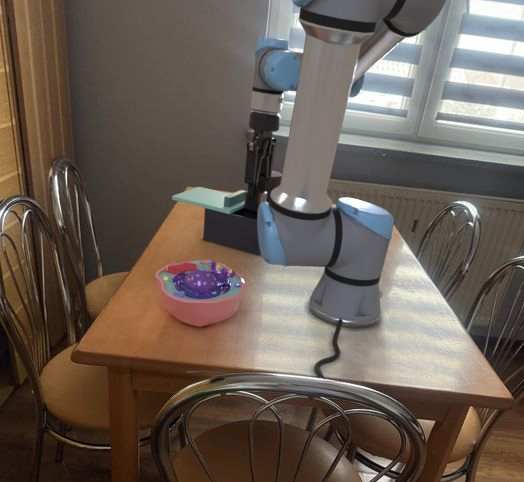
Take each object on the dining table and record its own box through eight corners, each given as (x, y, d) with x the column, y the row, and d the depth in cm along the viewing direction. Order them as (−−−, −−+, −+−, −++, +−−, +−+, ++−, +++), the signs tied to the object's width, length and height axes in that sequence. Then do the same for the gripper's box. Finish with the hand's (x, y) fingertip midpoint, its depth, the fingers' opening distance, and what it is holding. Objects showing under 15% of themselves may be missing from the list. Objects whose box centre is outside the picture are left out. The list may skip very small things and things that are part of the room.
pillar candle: (272, 223, 158) (278, 174, 150) (242, 217, 159) (247, 168, 152) (279, 215, 166) (286, 168, 158) (251, 210, 168) (256, 163, 160)
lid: (229, 214, 131) (230, 200, 129) (171, 199, 136) (172, 186, 134) (252, 203, 143) (254, 190, 141) (199, 190, 148) (199, 177, 146)
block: (258, 212, 133) (260, 195, 131) (243, 208, 134) (245, 191, 132) (265, 208, 136) (267, 192, 134) (250, 204, 138) (252, 188, 135)
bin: (258, 255, 133) (262, 222, 129) (203, 239, 138) (204, 207, 134) (277, 241, 144) (282, 210, 140) (226, 227, 149) (228, 197, 145)
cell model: (242, 299, 109) (248, 249, 104) (239, 347, 92) (245, 290, 86) (163, 291, 108) (164, 240, 102) (145, 337, 91) (145, 279, 85)
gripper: (265, 117, 115) (253, 218, 127) (292, 112, 129) (280, 204, 141) (235, 111, 117) (227, 211, 129) (265, 107, 131) (255, 198, 143)
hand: (254, 207), depth 135 cm, fingers closed on block, 4 cm apart
